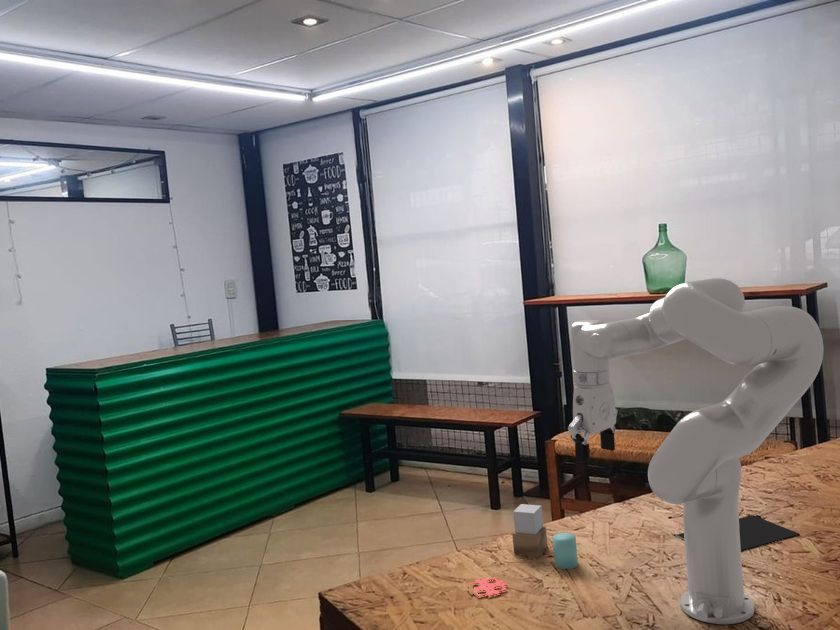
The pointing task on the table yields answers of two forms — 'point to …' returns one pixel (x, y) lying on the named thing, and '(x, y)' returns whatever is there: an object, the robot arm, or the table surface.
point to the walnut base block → (530, 543)
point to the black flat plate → (758, 532)
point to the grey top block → (528, 519)
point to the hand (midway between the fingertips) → (595, 455)
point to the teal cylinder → (565, 550)
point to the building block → (489, 586)
